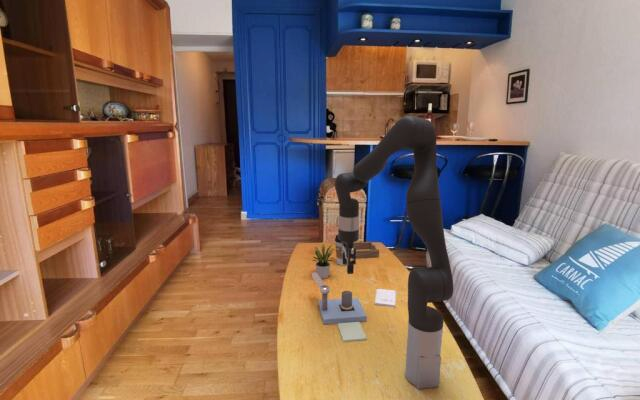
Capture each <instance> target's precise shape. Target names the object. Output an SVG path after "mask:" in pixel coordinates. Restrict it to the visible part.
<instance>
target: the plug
mask: <svg viewBox="0 0 640 400" xmlns="http://www.w3.org/2000/svg"><path fill="white" fill-rule="evenodd" d="M352 298H353V292H352V291H351V290H344V291H341V299H342V304H341V312H342V311H353V310H352V308H353V305H352Z"/></svg>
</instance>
